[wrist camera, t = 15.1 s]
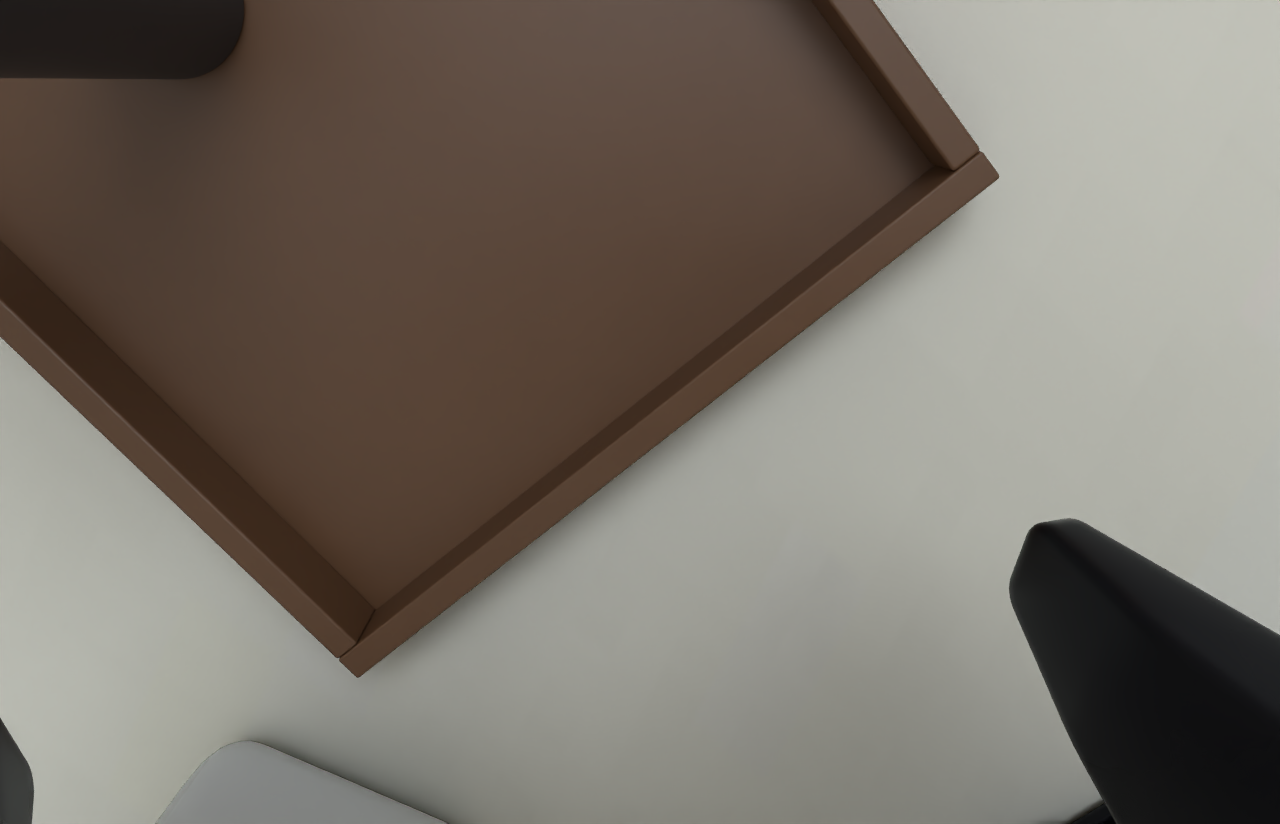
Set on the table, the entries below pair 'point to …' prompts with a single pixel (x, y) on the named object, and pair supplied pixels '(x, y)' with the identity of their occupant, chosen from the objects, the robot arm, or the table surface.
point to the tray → (451, 262)
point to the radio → (278, 793)
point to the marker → (116, 38)
